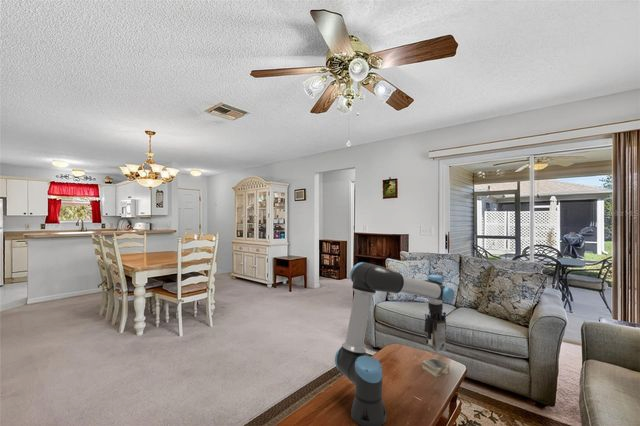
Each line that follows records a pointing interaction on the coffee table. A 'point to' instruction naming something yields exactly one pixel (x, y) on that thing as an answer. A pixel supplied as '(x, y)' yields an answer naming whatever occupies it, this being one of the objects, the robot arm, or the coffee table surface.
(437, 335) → the coffee box
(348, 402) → the coffee table surface
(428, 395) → the coffee table surface
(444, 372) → the square framed mirror
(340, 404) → the coffee table surface
